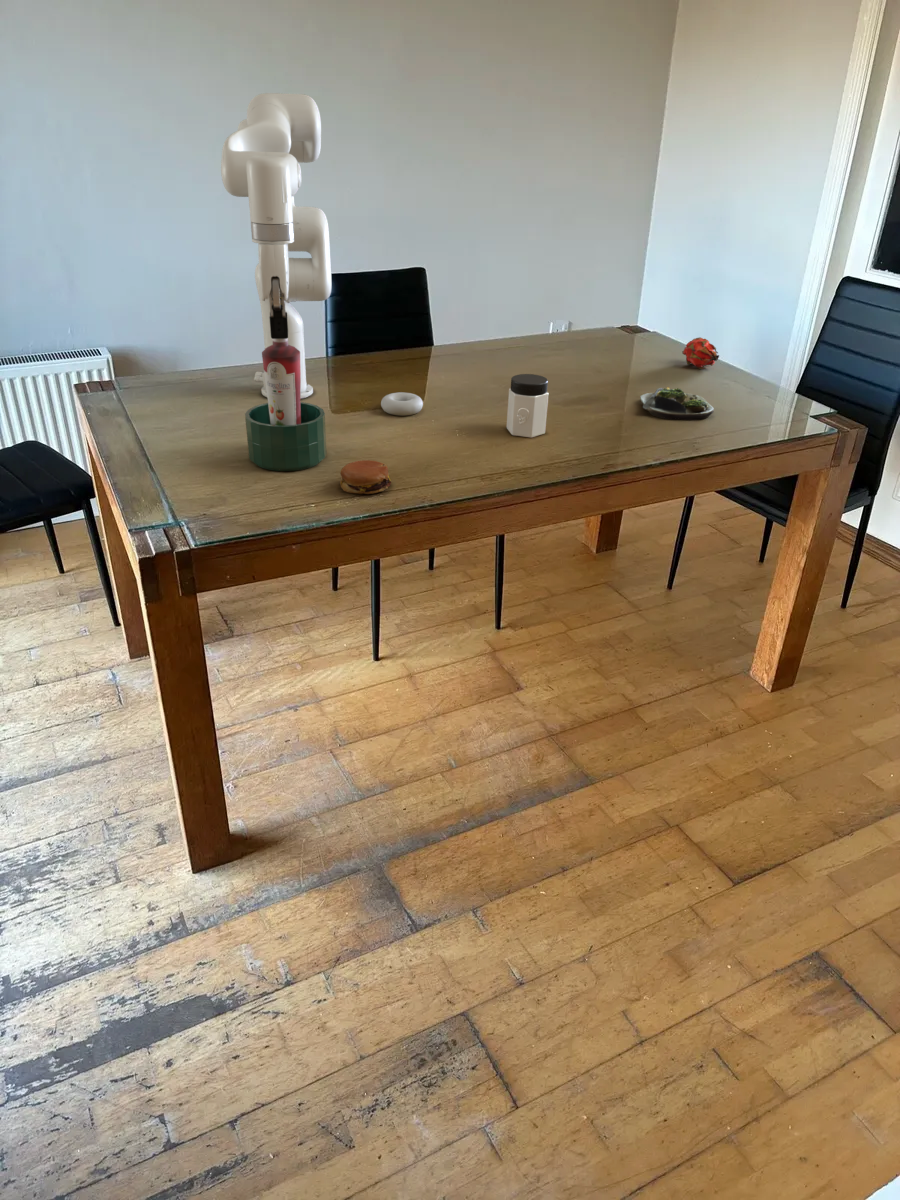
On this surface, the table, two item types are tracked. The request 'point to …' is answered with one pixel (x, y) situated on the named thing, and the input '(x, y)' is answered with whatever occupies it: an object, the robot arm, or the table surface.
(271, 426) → the ice bucket
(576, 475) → the table surface
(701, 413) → the salad plate
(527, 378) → the jar
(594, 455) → the table surface
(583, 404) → the table surface
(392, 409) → the donut
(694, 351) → the dragon fruit
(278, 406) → the liquor
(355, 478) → the burger
